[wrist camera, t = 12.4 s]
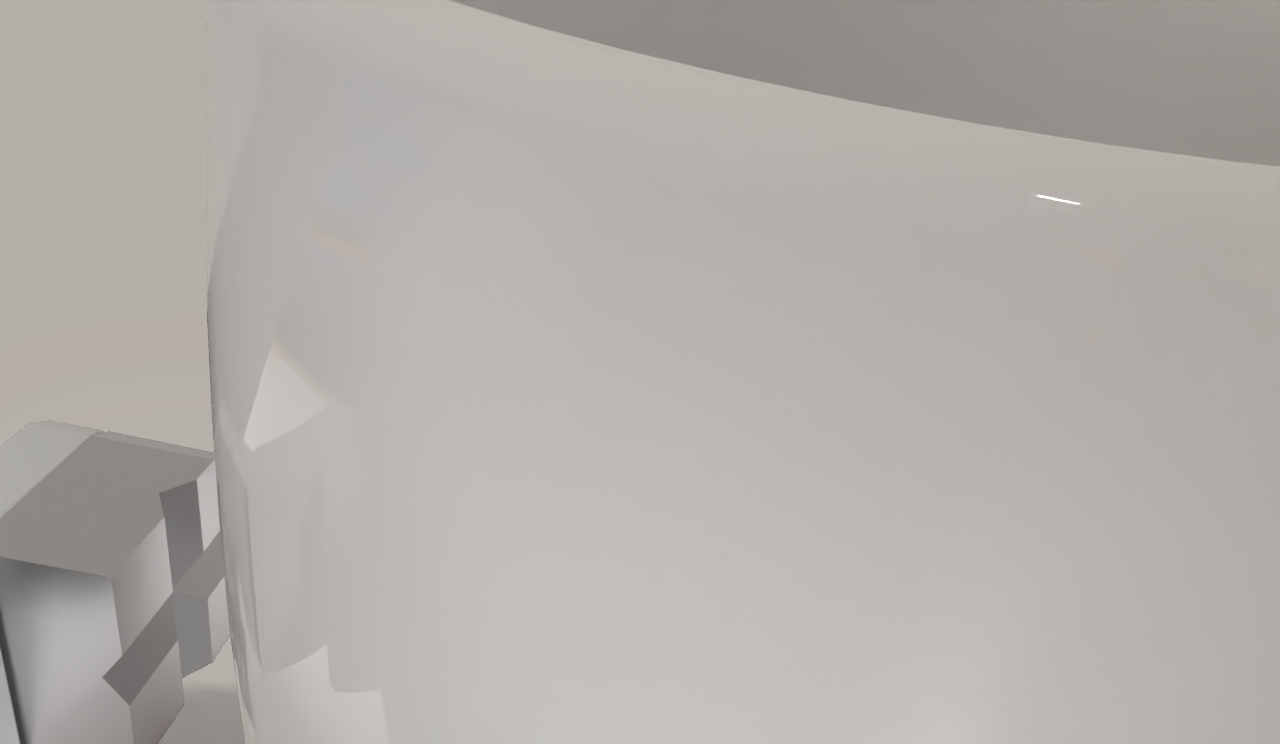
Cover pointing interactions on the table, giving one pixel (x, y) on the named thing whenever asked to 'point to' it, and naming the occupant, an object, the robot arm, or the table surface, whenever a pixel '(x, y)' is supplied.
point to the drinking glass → (747, 369)
